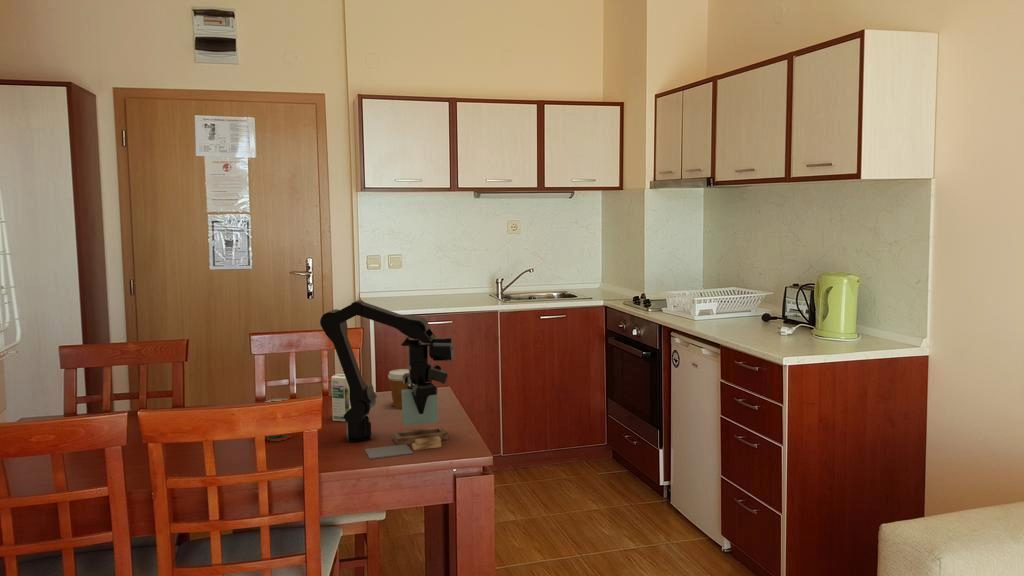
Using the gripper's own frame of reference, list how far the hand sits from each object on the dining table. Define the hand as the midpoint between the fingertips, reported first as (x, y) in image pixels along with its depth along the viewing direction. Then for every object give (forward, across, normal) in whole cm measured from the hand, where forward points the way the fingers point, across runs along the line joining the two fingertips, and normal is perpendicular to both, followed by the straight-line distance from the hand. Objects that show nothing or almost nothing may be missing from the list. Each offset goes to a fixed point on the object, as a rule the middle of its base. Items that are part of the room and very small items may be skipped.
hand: (419, 412), depth 227 cm
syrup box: (+8, +30, +18) cm, 36 cm away
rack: (+8, 0, 0) cm, 8 cm away
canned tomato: (+8, +18, +39) cm, 44 cm away
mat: (+8, -8, +11) cm, 16 cm away
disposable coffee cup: (+8, +38, -3) cm, 39 cm away
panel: (+3, 0, 0) cm, 3 cm away
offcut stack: (+8, -8, 0) cm, 11 cm away
